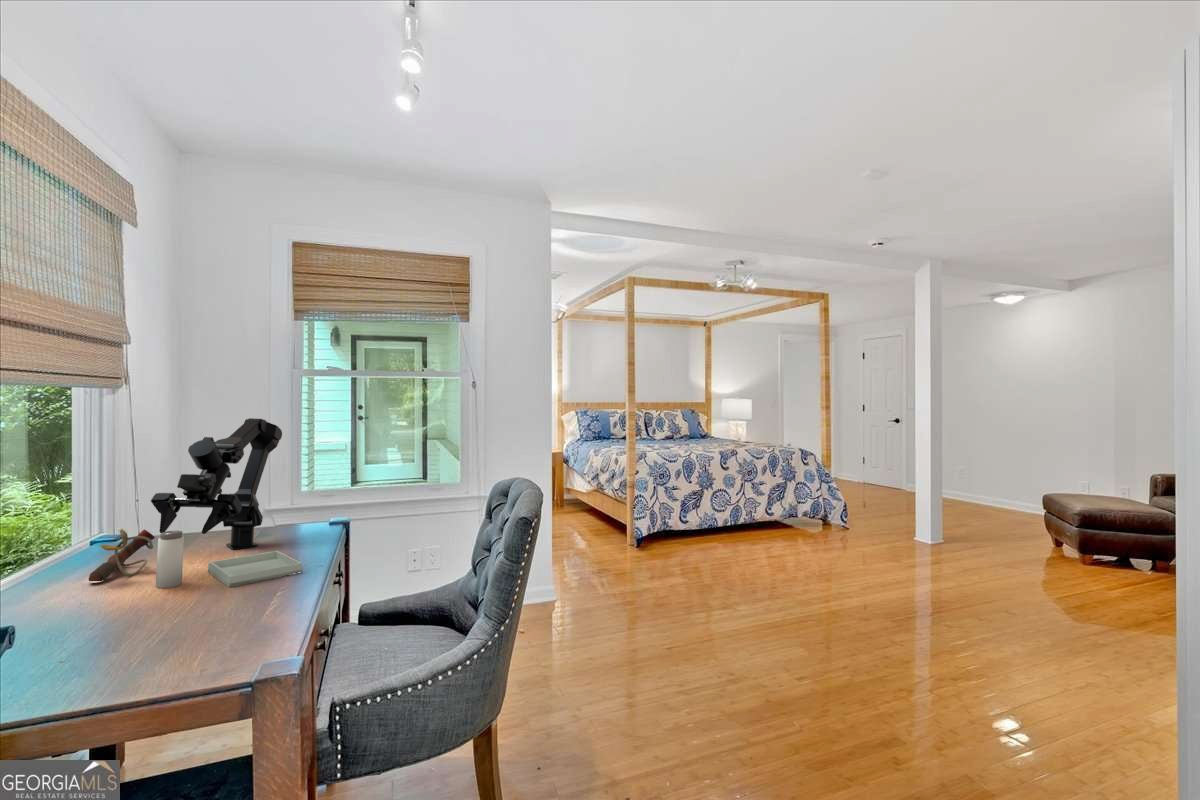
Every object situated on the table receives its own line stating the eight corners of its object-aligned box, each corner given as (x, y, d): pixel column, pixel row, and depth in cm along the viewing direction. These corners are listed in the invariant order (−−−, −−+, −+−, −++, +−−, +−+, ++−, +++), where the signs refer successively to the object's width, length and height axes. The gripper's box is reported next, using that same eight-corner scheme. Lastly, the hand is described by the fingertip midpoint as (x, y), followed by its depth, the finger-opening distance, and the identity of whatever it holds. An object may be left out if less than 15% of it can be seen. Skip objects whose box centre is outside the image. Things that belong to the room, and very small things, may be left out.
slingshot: (52, 584, 123) (99, 548, 137) (92, 612, 127) (134, 573, 141) (105, 541, 122) (147, 508, 136) (145, 569, 125) (181, 535, 140)
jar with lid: (153, 584, 126) (156, 532, 126) (178, 580, 130) (181, 529, 130) (158, 589, 123) (161, 536, 123) (184, 584, 127) (187, 532, 127)
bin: (207, 571, 137) (208, 561, 137) (277, 559, 149) (277, 550, 149) (229, 587, 126) (229, 576, 126) (301, 572, 139) (302, 563, 139)
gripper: (157, 460, 135) (123, 513, 124) (239, 462, 138) (212, 514, 127) (175, 487, 143) (144, 539, 131) (252, 488, 145) (228, 539, 134)
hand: (182, 532), depth 131 cm, fingers open, 9 cm apart
